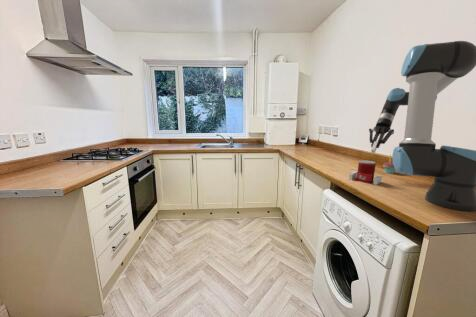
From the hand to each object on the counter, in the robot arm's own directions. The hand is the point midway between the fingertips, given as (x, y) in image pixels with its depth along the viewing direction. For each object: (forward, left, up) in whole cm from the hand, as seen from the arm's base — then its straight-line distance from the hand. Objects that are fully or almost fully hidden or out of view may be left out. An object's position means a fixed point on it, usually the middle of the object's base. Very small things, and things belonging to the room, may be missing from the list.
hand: (372, 151), depth 117 cm
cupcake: (+13, -23, -16) cm, 31 cm away
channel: (-5, +6, -16) cm, 18 cm away
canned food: (-5, +6, -16) cm, 18 cm away
